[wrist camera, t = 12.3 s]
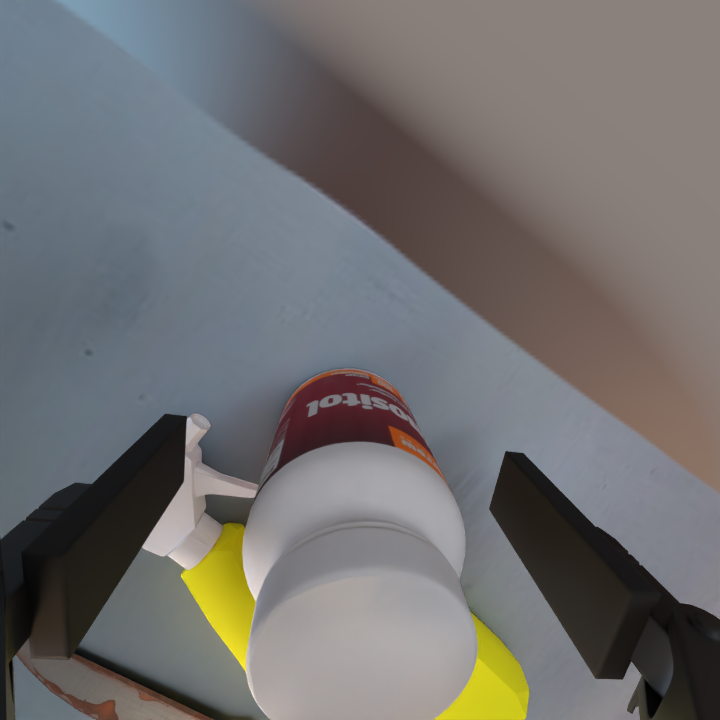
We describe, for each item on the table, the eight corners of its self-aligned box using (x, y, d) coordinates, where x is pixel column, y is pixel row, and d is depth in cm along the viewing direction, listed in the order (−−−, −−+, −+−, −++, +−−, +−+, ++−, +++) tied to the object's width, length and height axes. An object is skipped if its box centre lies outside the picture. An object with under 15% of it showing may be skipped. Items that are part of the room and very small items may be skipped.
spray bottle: (399, 746, 24) (74, 525, 19) (530, 650, 23) (222, 378, 17) (407, 810, 22) (27, 573, 16) (558, 705, 20) (200, 402, 14)
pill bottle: (428, 385, 18) (574, 578, 7) (383, 494, 19) (451, 788, 9) (301, 346, 17) (253, 502, 6) (264, 463, 18) (174, 754, 8)
